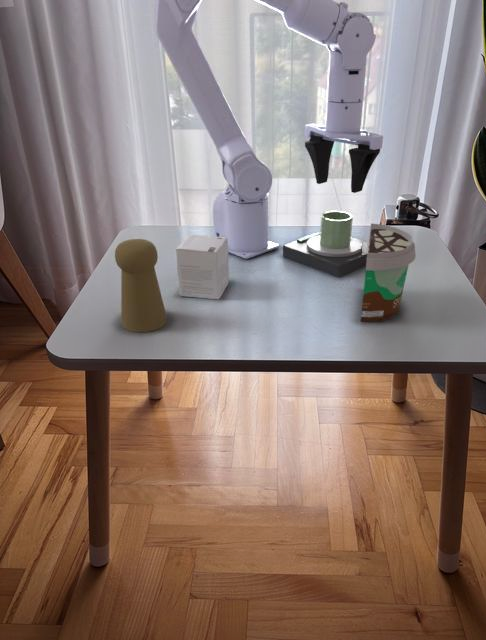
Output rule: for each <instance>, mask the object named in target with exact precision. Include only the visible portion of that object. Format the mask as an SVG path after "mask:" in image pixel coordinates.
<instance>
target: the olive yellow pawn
mask: <svg viewBox="0 0 486 640" xmlns="http://www.w3.org/2000/svg"><path fill="white" fill-rule="evenodd" d="M158 258H159V257H158V250H157V247H156V245H155V244H154V243H153V242H152V241H150V240H148V239H143V238H131V239H127V240H123V241H122V242H120V243H119V244H117V246H116V248H115V250H114V260H115V263H116V265H117V267H118V268H119V269H120V270H121V277H120V279H121V286H120V287H121V288H120V291H121V292H120V293H121V294H120V295H121V296H120V298H121V300H120V301H121V302H120V305H121V307H120V308H121V310H120V314H121V315H120V319H121V320H120V321H121V322H120V324H121V327H122V328H123V329H124V330H126V331H128V332H132V333H149V332H153V331H157V330H159V329H161V328H163V327H164V326H165V325H167V322H168V317H167V312H166V309H165V305H164V300H163V296H162V292H161V288H160V284H159V280H158V276H157V272H156V268H155V266H156V265H157V263H158Z"/></svg>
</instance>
